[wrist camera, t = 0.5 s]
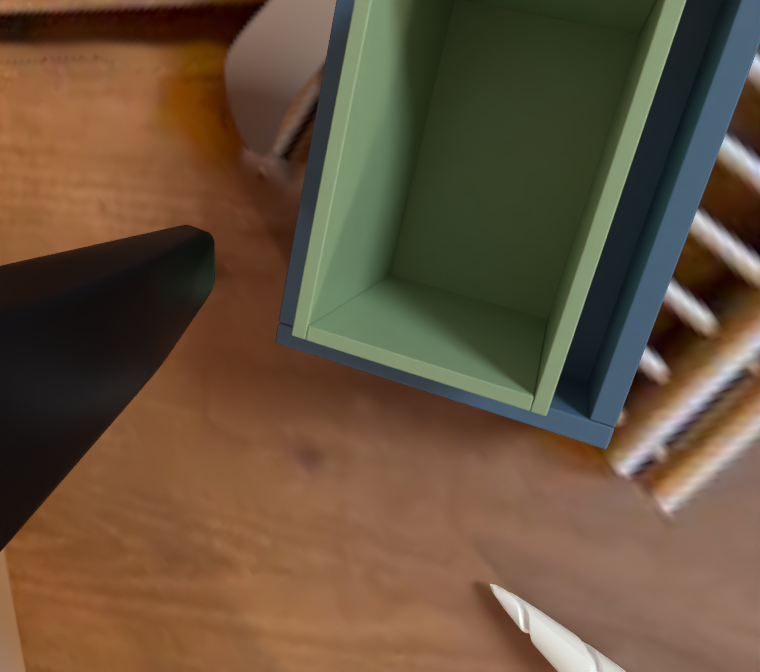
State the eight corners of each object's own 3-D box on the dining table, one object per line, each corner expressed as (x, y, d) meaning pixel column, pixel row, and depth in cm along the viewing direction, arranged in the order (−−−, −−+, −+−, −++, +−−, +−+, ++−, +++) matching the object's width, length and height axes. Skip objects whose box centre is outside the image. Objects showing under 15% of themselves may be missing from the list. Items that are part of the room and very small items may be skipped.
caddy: (556, 329, 23) (546, 417, 15) (382, 278, 25) (290, 336, 17) (655, 27, 20) (706, -59, 12) (449, -13, 21) (374, -112, 14)
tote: (602, 405, 24) (606, 450, 20) (316, 317, 26) (274, 343, 23) (764, -42, 19) (810, -90, 16) (400, -101, 22) (363, -155, 18)
